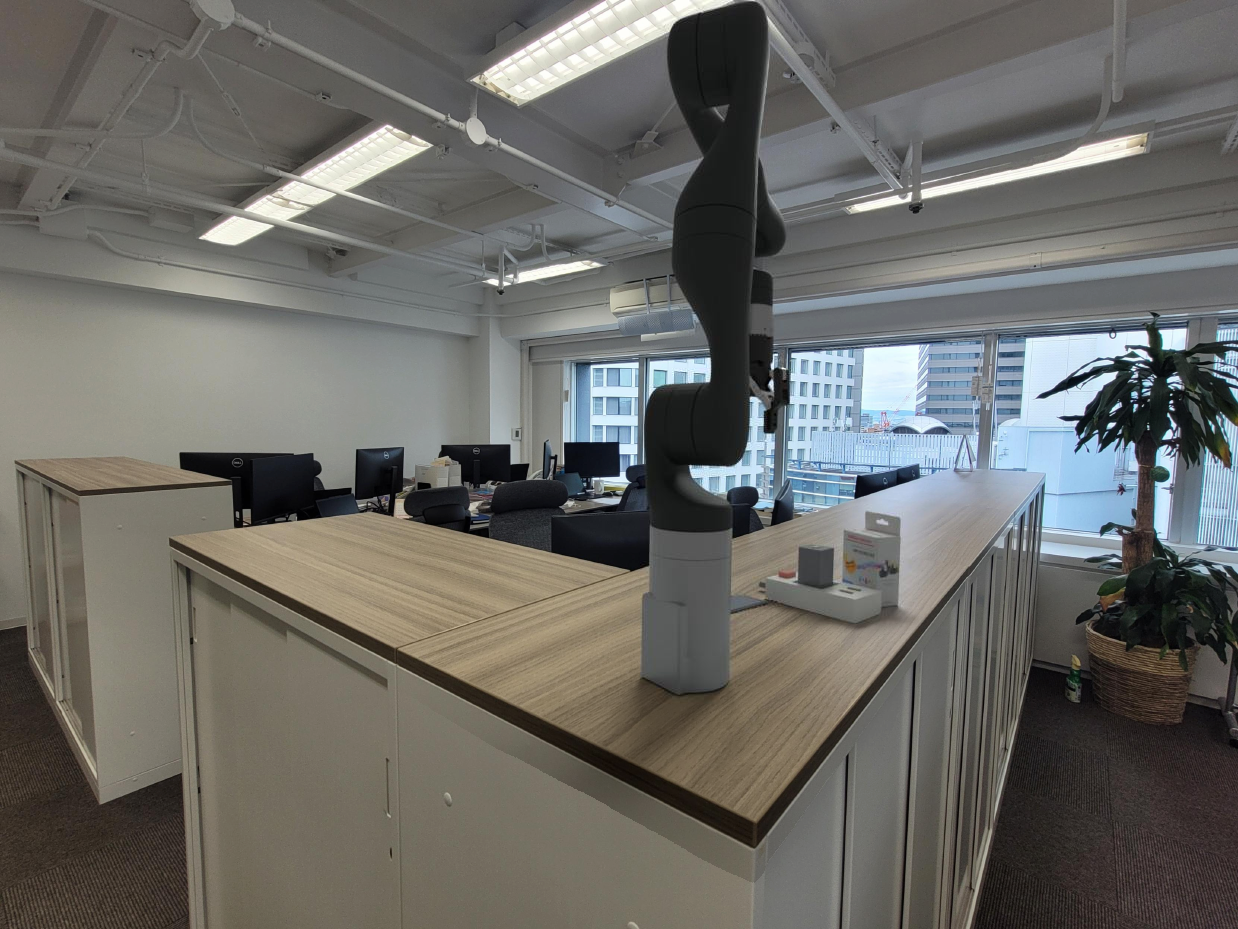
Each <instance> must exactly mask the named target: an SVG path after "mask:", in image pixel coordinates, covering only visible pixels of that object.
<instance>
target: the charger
mask: <svg viewBox="0 0 1238 929" xmlns="http://www.w3.org/2000/svg"><path fill="white" fill-rule="evenodd" d="M834 555H835V548H834V547H831V546H825V545H820V544H814V543H812V544H806V545H801V546H798V556H797V559H798V564H797V572H798V584H802V585H806V586H810V587H814V588H819V589H824V588H828V587H831V586H833V580H834V566H835V565H834V561H835V560H834V559H835V556H834Z"/></svg>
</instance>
